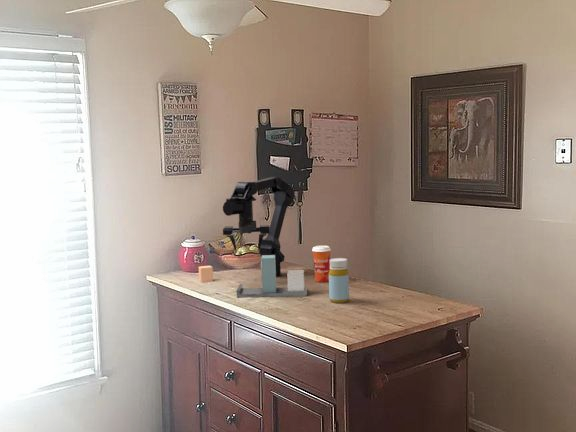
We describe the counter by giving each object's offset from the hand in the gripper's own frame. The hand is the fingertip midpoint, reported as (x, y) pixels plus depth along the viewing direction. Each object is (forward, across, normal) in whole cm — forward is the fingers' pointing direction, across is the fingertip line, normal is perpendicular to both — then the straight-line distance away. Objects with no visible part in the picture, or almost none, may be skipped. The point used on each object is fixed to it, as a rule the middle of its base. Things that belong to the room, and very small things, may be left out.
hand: (247, 251), depth 280 cm
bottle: (+13, +34, -36) cm, 51 cm away
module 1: (+13, -18, +6) cm, 23 cm away
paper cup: (+13, +30, -2) cm, 33 cm away
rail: (+13, +10, -21) cm, 27 cm away
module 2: (+12, +9, -21) cm, 26 cm away
